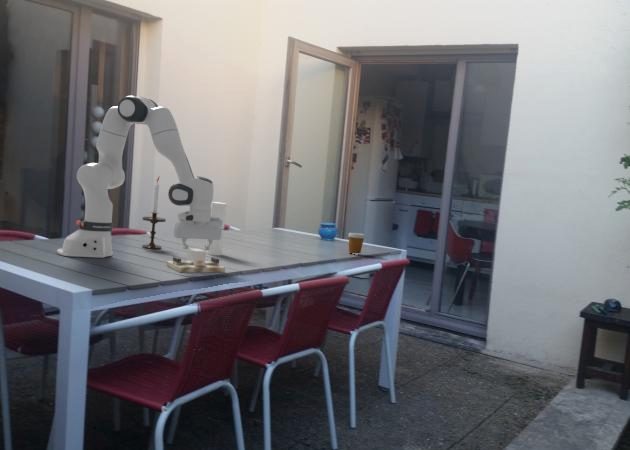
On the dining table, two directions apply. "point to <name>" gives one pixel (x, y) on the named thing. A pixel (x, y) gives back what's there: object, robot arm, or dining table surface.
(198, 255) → the module
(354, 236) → the glass of beer
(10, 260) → the dining table surface
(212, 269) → the board
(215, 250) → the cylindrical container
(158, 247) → the candlestick
